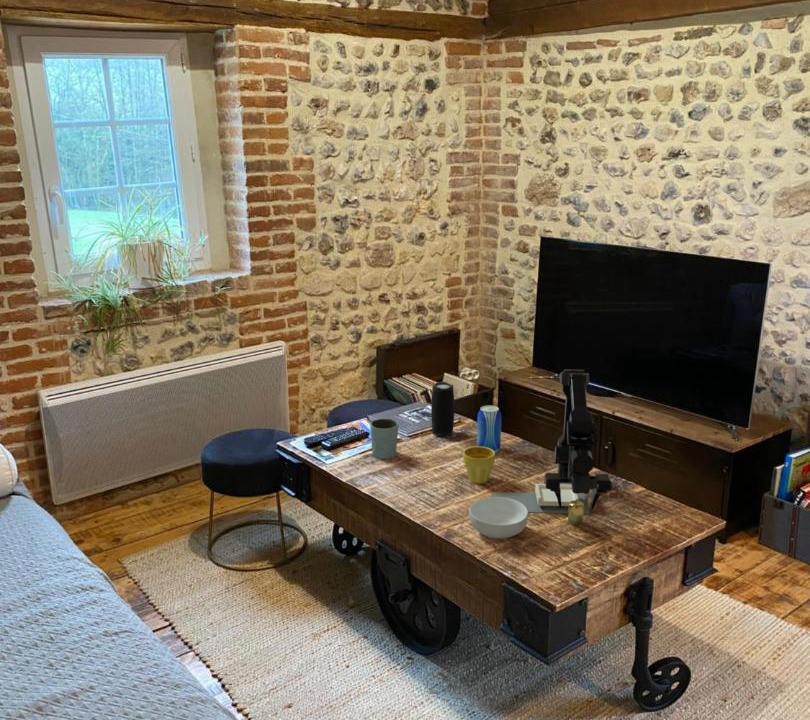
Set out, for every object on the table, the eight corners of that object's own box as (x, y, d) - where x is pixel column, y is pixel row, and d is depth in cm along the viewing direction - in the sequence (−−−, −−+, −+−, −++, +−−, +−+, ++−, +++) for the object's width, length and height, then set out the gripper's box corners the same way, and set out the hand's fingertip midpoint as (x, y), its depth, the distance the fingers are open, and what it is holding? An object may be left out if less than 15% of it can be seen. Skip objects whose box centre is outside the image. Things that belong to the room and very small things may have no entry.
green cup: (382, 446, 293) (381, 416, 289) (404, 453, 287) (404, 421, 283) (364, 456, 285) (364, 424, 281) (387, 462, 279) (387, 430, 276)
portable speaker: (433, 438, 299) (433, 389, 294) (429, 429, 308) (429, 381, 303) (456, 437, 300) (456, 388, 295) (451, 428, 309) (452, 380, 304)
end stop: (584, 496, 252) (584, 488, 252) (590, 497, 252) (591, 488, 251) (589, 511, 243) (589, 502, 242) (595, 511, 243) (596, 502, 242)
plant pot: (479, 489, 258) (479, 461, 255) (456, 479, 266) (456, 451, 263) (500, 480, 265) (501, 452, 262) (478, 470, 272) (478, 443, 269)
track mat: (491, 492, 256) (491, 492, 256) (583, 494, 254) (583, 494, 254) (493, 511, 243) (493, 510, 243) (589, 513, 241) (589, 513, 241)
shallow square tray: (535, 494, 253) (535, 483, 252) (573, 495, 253) (574, 484, 251) (537, 509, 244) (538, 498, 243) (577, 510, 243) (578, 499, 242)
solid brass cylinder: (566, 518, 239) (567, 500, 237) (581, 519, 238) (582, 500, 237) (568, 525, 235) (569, 507, 233) (584, 526, 234) (585, 507, 233)
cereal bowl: (458, 524, 236) (459, 502, 234) (508, 513, 242) (508, 492, 240) (486, 551, 221) (487, 528, 219) (538, 539, 227) (539, 517, 225)
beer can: (501, 454, 285) (502, 412, 280) (477, 454, 285) (478, 412, 280) (499, 445, 293) (500, 404, 288) (476, 445, 293) (476, 404, 288)
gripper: (549, 470, 224) (546, 520, 228) (617, 471, 222) (613, 522, 227) (545, 454, 234) (543, 502, 239) (610, 455, 233) (606, 504, 238)
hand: (576, 508), depth 235 cm, fingers open, 9 cm apart
